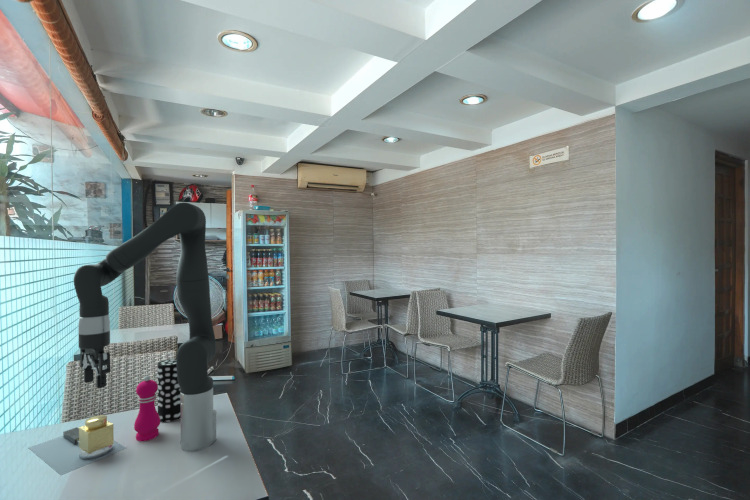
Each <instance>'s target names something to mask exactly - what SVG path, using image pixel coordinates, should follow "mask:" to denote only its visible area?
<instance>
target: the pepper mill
mask: <svg viewBox="0 0 750 500" xmlns="http://www.w3.org/2000/svg"><path fill="white" fill-rule="evenodd" d="M135 392H136V395H137V396H138V398H137V399H138V400H137V402H138V403H139V410H138V413H137V415H136V418H135V420H134V424H133V426H134V427H133V428H134V431H135V432H136V435H135V440H136V441H138V442H148V441H150V440H154V439H156V438H157V437H158V436H159V434H160V433H159V432H160V431H159V428H158V427H160V426H161V425H160V424H161V422H160V417H159V415H158V410H157V409H156V404H155V403H156V399H157V394H156V392H158V382H156V381H155V379H154V380H153V379H151V377H150V375H145V376H144V377H143V380H142V381H140V382H139V383H138V385H136V388H135Z"/></svg>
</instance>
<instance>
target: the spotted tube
mask: <svg viewBox="0 0 750 500" xmlns="http://www.w3.org/2000/svg"><path fill="white" fill-rule="evenodd" d="M156 367H157V372H156V373H157V376H156V378H157V385H158V389H157V413H158V415H159V417H160V423H170V422H176V421H177V420H181V405H180V386H179V384H178V380H177V366H176V358H170V359H165V360H162V361H159V362H157V366H156Z"/></svg>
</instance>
